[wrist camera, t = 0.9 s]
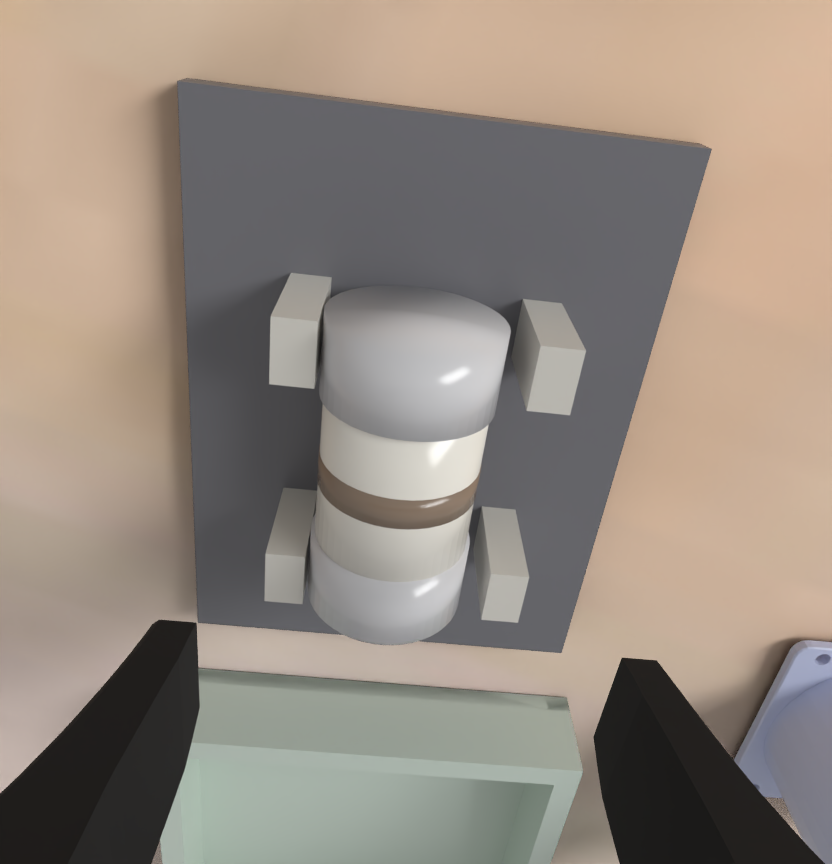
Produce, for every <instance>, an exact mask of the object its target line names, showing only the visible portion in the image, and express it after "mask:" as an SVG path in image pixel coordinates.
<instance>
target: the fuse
mask: <svg viewBox="0 0 832 864" xmlns="http://www.w3.org/2000/svg"><path fill="white" fill-rule="evenodd" d="M510 334H511V329H510V326H509V324H508V322H507V321H506V320H505V318H504V317H502V316H501V315H500V314H499V313H497V312H496V311H495V310H493V309H491V308H489V307H488V306H486V305H484V304H481V303H479V302H477V301H474V300H472V299H469V298H466V297H463V296H460V295H456V294H453V293H449V292H444V291H440V290H434V289H429V288H421V287H412V286H396V285H384V286H369V287H361V288H356V289H352V290H348V291H345V292H342V293H339V294H337V295H335V296H334V297H332V298H331V299H329V300H328V302H327V303H326V304H325V306H324V316H323V333H322V350H321V367H320V384H319V395H320V399H321V401H322V403H323V406H322V422H321V438H320V445H319V457H318V473H317V481H318V486H317V502H316V513H315V515H314V517H313V520H312V523H311V537H310V554H309V570H308V587H307V589H308V597H309V600H310V603H311V605H312V607H313V609H314V610H315V612H316V613H317V614H318V616H319V617H320V618H321V619H322V620H323V621H324V622H325V623H326V624H328V625H329V626H330V627H331V628H333V629H334V630H336V631H338V632H339V633H341V634H343V635H346V636H348V637H350V638H353V639H356V640H359V641H362V642H367V643H371V644H379V645H401V644H408V643H413V642H417V641H420V640H423V639H426V638H428V637H430V636H432V635H434V634H436V633H437V632H439V631H440V630H442V629H443V628H444V627H445V626H446V625H447V624H448V623H449V622H450V621H451V619H452V618H453V616H454V615H455V613H456V610H457V607H458V602H459V597H460V592H461V587H462V582H463V577H464V571H465V566H466V561H467V556H468V551H469V546H470V537H469V532H468V530H469V525H470V520H471V515H472V509H473V504H474V501H475V497H476V493H477V487H478V482H479V477H480V472H481V462H482V457H483V452H484V446H485V441H486V436H487V431H488V425H489V423H490V422H491V421H492V420H493V418H494V416H495V411H496V406H497V401H498V396H499V391H500V385H501V380H502V375H503V370H504V365H505V360H506V355H507V349H508V344H509V339H510Z"/></svg>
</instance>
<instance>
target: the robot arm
mask: <svg viewBox="0 0 832 864" xmlns="http://www.w3.org/2000/svg"><path fill="white" fill-rule="evenodd" d="M199 709H200V699H199V674H198V649H197V624H196V623H193V622H181V621H169V620H158V621H157V622H155V623H154V624H152V626H151V627H150V628H149V630H148V631H147V632H146V634H145V635H144V636H143V638H142V639H141V640H140V642H139V643H138V644H137V645H136V647H135V648H134V649H133V651H132V652H131V653H130V654H129V656H128V657H127V658H126V659H125V660H124V662H123V663H122V664H121V665H120V667H119V668H118V669H117V670H116V671H115V673H114V674H113V675H112V676H111V677H110V679H109V680H108V681H107V682H106V683H105V684H104V686H103V687H102V688H101V689H100V690H99V691H98V692H97V694H96V695H95V696H94V697H93V698H92V699H91V700H90V701H89V703H88V704H87V705H86V706H85V707H84V708H83V709H82V710H81V712H80V713H79V714H78V715H77V716H76V717H75V718H74V719H73V721H72V722H71V723H70V724H69V725H68V726H67V727H66V728H65V729H64V730H63V731H62V732H61V733H60V734H59V736H58V737H57V738H56V739H55V740H54V741H53V742H52V743H51V744H50V745H49V746H48V747H47V748H46V749H45V750H44V751H43V752H42V753H41V754H40V755H39V756H38V757H37V758H36V759H35V760H34V761H33V762H32V763H31V764H30V765H29V766H28V767H27V768H26V769H25V770H24V771H23V772H22V773H21V774H20V775H19V776H18V777H17V778H16V779H15V780H14V781H13V782H12V783H11V784H10V785H9V786H8V787H7V788H6V789H5V790H3V791H2V792H1V793H0V864H151V863H152V860H153V857H154V855H155V852H156V849H157V846H158V843H159V841H160V838H161V835H162V832H163V830H164V827H165V824H166V821H167V818H168V816H169V813H170V810H171V807H172V804H173V802H174V799H175V796H176V793H177V790H178V787H179V785H180V782H181V779H182V776H183V773H184V770H185V767H186V763H187V759H188V755H189V751H190V747H191V743H192V739H193V734H194V730H195V726H196V722H197V717H198V713H199ZM594 743H595V751H596V758H597V766H598V773H599V779H600V785H601V792H602V798H603V802H604V806H605V810H606V814H607V818H608V821H609V825H610V829H611V833H612V836H613V840H614V844H615V848H616V852H617V855H618V859H619V863H620V864H832V642H824V641H812V640H804V641H800V642H798V643H796V644H794V645H793V646H792V648H791V649H790V651H789V653H788V655H787V657H786V659H785V660H784V662H783V664H782V666H781V668H780V670H779V672H778V674H777V676H776V678H775V680H774V682H773V684H772V686H771V688H770V690H769V692H768V694H767V696H766V698H765V700H764V702H763V704H762V706H761V708H760V710H759V712H758V714H757V715H756V717H755V719H754V721H753V723H752V725H751V727H750V729H749V731H748V733H747V735H746V737H745V739H744V741H743V743H742V745H741V747H740V749H739V751H738V753H737V755H736V757H735V759H734V760H733V759H732V758H731V756H730V755H729V754H728V753H727V751H726V750H725V749H724V748H723V746H722V745H721V744H720V743H719V741H718V740H717V739H716V738H715V736H714V735H713V734H712V732H711V731H710V730H709V729H708V727H707V726H706V725H705V723H704V722H703V721H702V719H701V718H700V717H699V715H698V714H697V713H696V712H695V710H694V709H693V708H692V706H691V705H690V704H689V702H688V701H687V700H686V698H685V697H684V696H683V694H682V693H681V692H680V690H679V689H678V688H677V686H676V685H675V684H674V683H673V681H672V680H671V679H670V677H669V676H668V675H667V673H666V672H665V671H664V669H663V668H662V667H661V666H660V664H659V663H658V662H657V661H656V660H643V659H631V658H622V659H621V662H620V665H619V667H618V670H617V673H616V676H615V679H614V681H613V684H612V687H611V690H610V693H609V695H608V698H607V701H606V704H605V707H604V709H603V712H602V715H601V718H600V721H599V723H598V726H597V729H596V732H595V735H594ZM764 797H772V798H783V800H784V802H785V804H786V806H787V808H788V810H789V812H790V815H791V817H792V819H793V821H794V823H795V825H796V827H797V829H798V832H799V834H800V836H801V838H802V839H801V838H800V837H799V836H798V835H797V834H796V833H795V831H794V830H793V829H792V828H791V827H790V826H789V825H788V824H787V822H786V821H785V820H784V819H783V818H782V817H781V816H780V815H779V813H778V812H777V811H776V810H775V809H774V808H773V807H772V806H771V804H770V803H769V802H768V801H767V800H766V799H765V798H764Z"/></svg>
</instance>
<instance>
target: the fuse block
mask: <svg viewBox="0 0 832 864" xmlns="http://www.w3.org/2000/svg"><path fill="white" fill-rule="evenodd" d="M177 84H178V110H179V136H180V163H181V189H182V215H183V241H184V268H185V294H186V320H187V347H188V373H189V399H190V425H191V452H192V478H193V504H194V531H195V557H196V583H197V609H198V623H208V624H220V625H232V626H244V627H256V628H268V629H280V630H292V631H304V632H315V633H327V634H339V635H343V634H341V633H339V632H338V631H336V630H334V629H333V628H331V627H330V626H329V625H328V624H326V623H325V622H324V621H323V620H322V619H321V618H320V617H319V616H318V614H317V613H316V612H315V610H314V609H313V607H312V605H311V603H310V600H309V597H308V589H307V587H308V570H309V554H310V537H311V523H312V520H313V517H314V515H315V513H316V502H317V486H318V481H317V473H318V457H319V445H320V438H321V422H322V406H323V403H322V401H321V399H320V395H319V384H320V367H321V350H322V333H323V316H324V306H325V304H326V303H327V302H328V300H329V299H331V298H332V297H334V296H335V295H337V294H339V293H342V292H345V291H348V290H352V289H356V288H361V287H369V286H384V285H396V286H412V287H421V288H429V289H434V290H440V291H444V292H449V293H453V294H456V295H460V296H463V297H466V298H469V299H472V300H474V301H477V302H479V303H481V304H484V305H486V306H488V307H489V308H491V309H493V310H495V311H496V312H497V313H499V314H500V315H501V316H502V317H504V318H505V320H506V321H507V322H508V324H509V326H510V329H511V334H510V339H509V344H508V349H507V355H506V360H505V365H504V370H503V375H502V380H501V385H500V391H499V396H498V401H497V406H496V411H495V416H494V418H493V420H492V421H491V422H490V423H489V425H488V431H487V436H486V441H485V446H484V452H483V457H482V462H481V472H480V477H479V482H478V487H477V493H476V497H475V501H474V504H473V509H472V515H471V520H470V525H469V530H468V532H469V537H470V546H469V551H468V556H467V561H466V566H465V571H464V577H463V582H462V587H461V592H460V597H459V602H458V607H457V610H456V613H455V615H454V616H453V618H452V619H451V621H450V622H449V623H448V624H447V625H446V626H445V627H444V628H443V629H442V630H440V631H439V632H437V633H436V634H434V635H432V636H430V637H428V638H426V639H423V640H420V641H423V642H435V643H447V644H459V645H471V646H483V647H495V648H507V649H519V650H531V651H543V652H555V653H561V652H562V649H563V646H564V642H565V639H566V636H567V632H568V629H569V626H570V622H571V619H572V616H573V612H574V609H575V606H576V602H577V599H578V595H579V592H580V589H581V585H582V582H583V579H584V575H585V572H586V569H587V565H588V562H589V559H590V555H591V552H592V549H593V545H594V542H595V538H596V535H597V532H598V528H599V525H600V522H601V518H602V515H603V512H604V508H605V505H606V502H607V498H608V495H609V492H610V488H611V485H612V481H613V478H614V475H615V471H616V468H617V465H618V461H619V458H620V455H621V451H622V448H623V445H624V441H625V438H626V435H627V431H628V428H629V424H630V421H631V418H632V414H633V411H634V408H635V404H636V401H637V398H638V394H639V391H640V388H641V384H642V381H643V378H644V374H645V371H646V367H647V364H648V361H649V357H650V354H651V351H652V347H653V344H654V341H655V337H656V334H657V331H658V327H659V324H660V321H661V317H662V314H663V310H664V307H665V304H666V300H667V297H668V294H669V290H670V287H671V284H672V280H673V277H674V274H675V270H676V267H677V264H678V260H679V257H680V253H681V250H682V247H683V243H684V240H685V237H686V233H687V230H688V227H689V223H690V220H691V217H692V213H693V210H694V207H695V203H696V200H697V196H698V193H699V190H700V186H701V183H702V180H703V176H704V173H705V170H706V166H707V163H708V160H709V156H710V153H711V150H712V149H710V148H708V147H706V146H704V145H702V144H699V143H691V142H683V141H675V140H667V139H660V138H652V137H644V136H636V135H628V134H621V133H613V132H605V131H597V130H589V129H581V128H574V127H566V126H558V125H550V124H542V123H534V122H527V121H519V120H511V119H503V118H495V117H487V116H480V115H472V114H464V113H456V112H448V111H440V110H433V109H425V108H417V107H409V106H401V105H393V104H386V103H378V102H370V101H362V100H354V99H346V98H339V97H331V96H323V95H315V94H307V93H299V92H292V91H284V90H276V89H268V88H260V87H252V86H245V85H237V84H229V83H221V82H213V81H205V80H198V79H190V78H186V79H183V80H179V81H177Z"/></svg>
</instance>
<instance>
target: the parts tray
mask: <svg viewBox="0 0 832 864" xmlns="http://www.w3.org/2000/svg"><path fill="white" fill-rule="evenodd" d="M198 674H199V699H200V709H199V713H198V717H197V722H196V726H195V730H194V734H193V739H192V743H191V747H190V751H189V755H188V759H187V763H186V767H185V770H184V773H183V776H182V779H181V782H180V785H179V787H178V790H177V793H176V796H175V799H174V802H173V804H172V807H171V810H170V813H169V816H168V818H167V821H166V824H165V827H164V830H163V832H162V835H161V838H160V843H161V854H162V864H550V863H551V860H552V858H553V855H554V852H555V849H556V846H557V844H558V841H559V838H560V835H561V832H562V830H563V827H564V824H565V821H566V819H567V816H568V813H569V810H570V807H571V805H572V802H573V799H574V796H575V793H576V791H577V788H578V785H579V782H580V779H581V777H582V774H583V768H582V763H581V759H580V754H579V750H578V745H577V741H576V736H575V732H574V727H573V723H572V719H571V714H570V710H569V705H568V701H567V698H564V697H551V696H539V695H526V694H514V693H501V692H489V691H476V690H464V689H451V688H439V687H426V686H414V685H401V684H389V683H376V682H363V681H351V680H338V679H326V678H313V677H301V676H288V675H276V674H263V673H251V672H238V671H226V670H213V669H201V668H198Z"/></svg>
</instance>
